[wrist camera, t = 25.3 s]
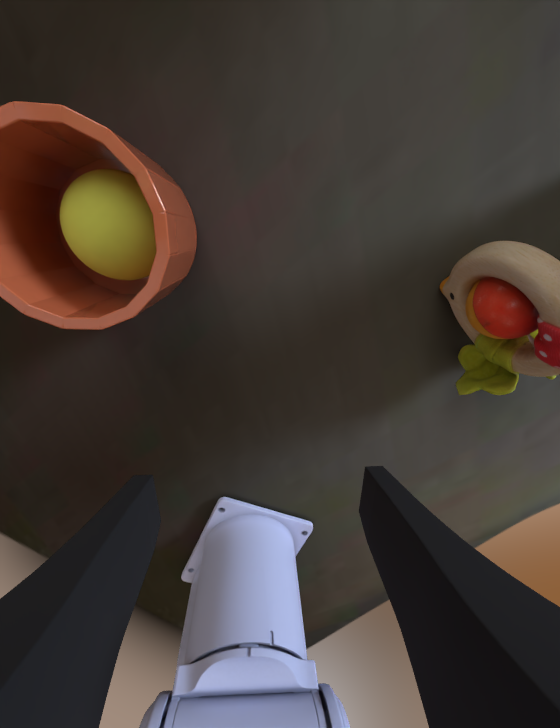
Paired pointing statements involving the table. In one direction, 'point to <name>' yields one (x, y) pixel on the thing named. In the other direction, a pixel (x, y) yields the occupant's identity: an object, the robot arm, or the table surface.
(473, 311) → the bird rattle
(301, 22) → the table surface
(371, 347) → the table surface
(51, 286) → the pot
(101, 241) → the ball
